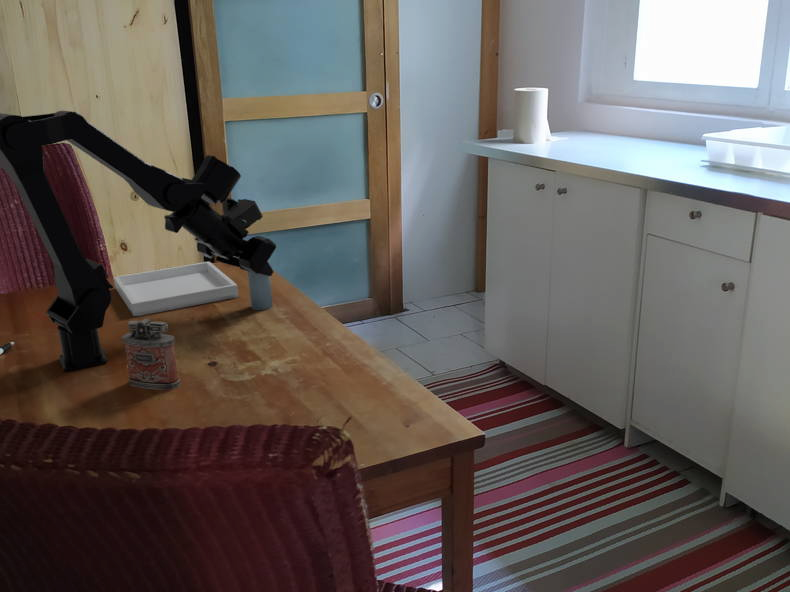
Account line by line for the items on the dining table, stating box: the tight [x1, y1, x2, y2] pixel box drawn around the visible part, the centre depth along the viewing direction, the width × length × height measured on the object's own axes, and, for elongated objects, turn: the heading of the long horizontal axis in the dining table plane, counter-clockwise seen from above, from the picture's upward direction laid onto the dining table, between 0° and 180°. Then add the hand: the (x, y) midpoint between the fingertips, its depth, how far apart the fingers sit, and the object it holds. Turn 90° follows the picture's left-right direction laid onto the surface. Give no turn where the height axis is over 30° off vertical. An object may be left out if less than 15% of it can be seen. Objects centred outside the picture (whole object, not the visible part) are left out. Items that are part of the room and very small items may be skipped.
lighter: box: [121, 318, 181, 391], centre depth 110 cm, size 8×3×10 cm, turn 73°
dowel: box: [247, 259, 273, 311], centre depth 141 cm, size 4×4×12 cm
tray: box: [113, 261, 240, 318], centre depth 152 cm, size 20×20×2 cm
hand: (265, 271), depth 142 cm, fingers closed on dowel, 4 cm apart
